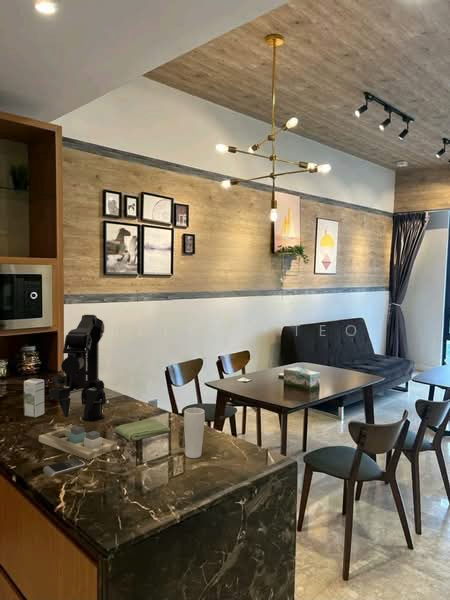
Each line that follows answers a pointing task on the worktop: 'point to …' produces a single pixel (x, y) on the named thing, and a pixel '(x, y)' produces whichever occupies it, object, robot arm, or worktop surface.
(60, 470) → the cell phone
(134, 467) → the worktop surface
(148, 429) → the washcloth
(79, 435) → the teal plug
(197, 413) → the drinking glass
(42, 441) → the wooden grid tray
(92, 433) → the off-white plug
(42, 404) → the syrup box
